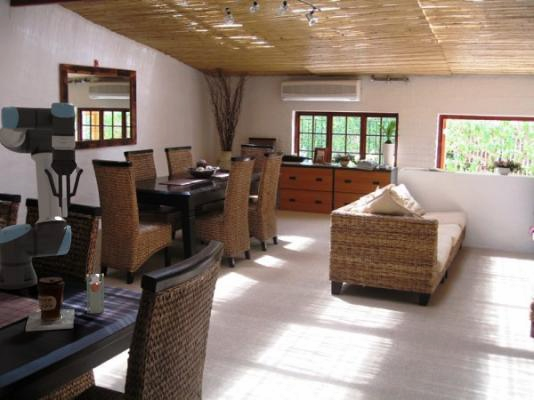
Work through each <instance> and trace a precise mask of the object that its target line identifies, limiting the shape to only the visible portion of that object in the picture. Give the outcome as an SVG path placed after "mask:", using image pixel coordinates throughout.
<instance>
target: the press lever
mask: <svg viewBox="0 0 534 400" xmlns="http://www.w3.org/2000/svg"><path fill="white" fill-rule="evenodd" d="M89 282H92V285H91V290H92V291H93V292H98V291H99V290H100V285H99V282H102V273H95V274H92V273H91V274H89Z"/></svg>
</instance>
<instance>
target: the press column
mask: <svg viewBox="0 0 534 400" xmlns="http://www.w3.org/2000/svg"><path fill="white" fill-rule="evenodd" d="M91 285H92V282H90V274H89V273H87V274H86V310H87V311H86V314H102V313H105V275H104V273H101V281H99V285H100V290H99V291H98V292H93V291H92V290H91Z"/></svg>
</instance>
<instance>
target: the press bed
mask: <svg viewBox="0 0 534 400" xmlns="http://www.w3.org/2000/svg"><path fill="white" fill-rule="evenodd" d="M60 314H61V318H59V319H55V320H44V319H41V310H39V311H30V313H29V316H28V318H27V322H26V325H25V332H36V331H37V332H39V331H51V330H64V329H73V328H74V322H75V309H74V308H73V309H60Z"/></svg>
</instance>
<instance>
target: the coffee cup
mask: <svg viewBox="0 0 534 400" xmlns="http://www.w3.org/2000/svg"><path fill="white" fill-rule="evenodd" d="M65 284H66V283H65V281H63V277H60V276H50V277H42V278H39V280H38V281H37V284H36V288H37V291H38V293H37V297H38V298H37V299H38V300H37V301H38V307H39V311H41V319H44V320H55V319H59V318H61V314H60V310H62V309H61V308H62V306H63V301H64V289H65Z"/></svg>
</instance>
